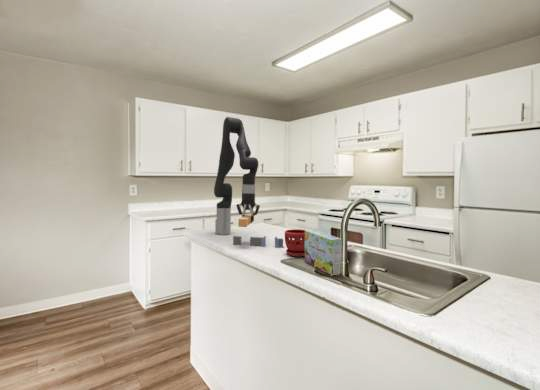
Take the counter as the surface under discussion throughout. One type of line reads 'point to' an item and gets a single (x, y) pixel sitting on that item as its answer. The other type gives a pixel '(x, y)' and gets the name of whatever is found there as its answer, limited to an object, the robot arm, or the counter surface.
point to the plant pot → (295, 242)
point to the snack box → (323, 251)
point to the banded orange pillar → (244, 221)
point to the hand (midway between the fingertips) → (247, 221)
